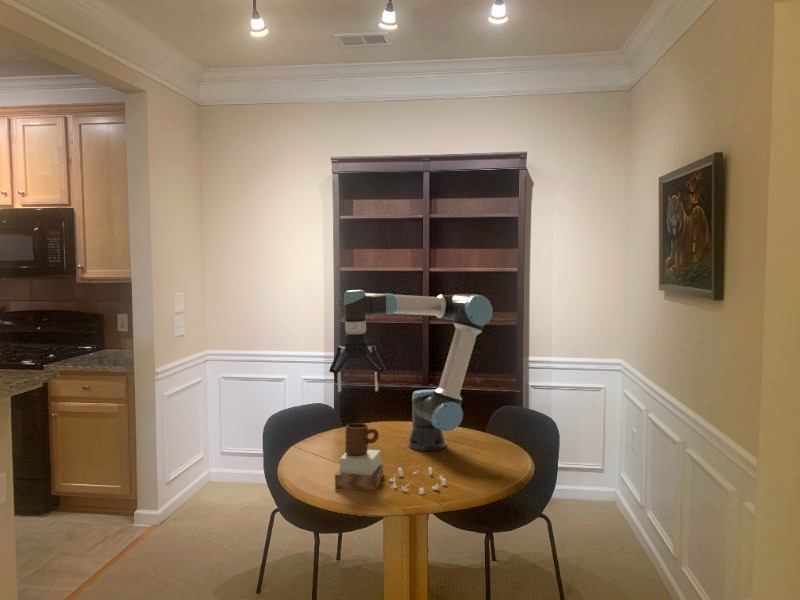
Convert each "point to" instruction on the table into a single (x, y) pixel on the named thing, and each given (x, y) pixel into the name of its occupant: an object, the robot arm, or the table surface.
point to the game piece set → (419, 488)
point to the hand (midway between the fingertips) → (358, 390)
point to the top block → (360, 463)
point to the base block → (359, 480)
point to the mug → (359, 438)
